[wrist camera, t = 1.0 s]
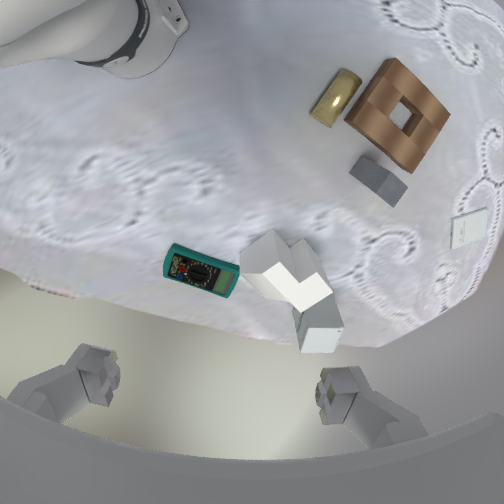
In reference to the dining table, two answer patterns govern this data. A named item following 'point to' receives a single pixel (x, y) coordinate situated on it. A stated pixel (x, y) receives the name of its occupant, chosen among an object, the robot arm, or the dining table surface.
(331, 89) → the round bit
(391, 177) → the square bit
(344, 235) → the dining table surface
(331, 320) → the supplement box
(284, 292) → the corner bracket
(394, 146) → the socket block
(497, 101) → the dining table surface
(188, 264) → the digital multimeter
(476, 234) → the external hard drive
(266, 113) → the dining table surface
